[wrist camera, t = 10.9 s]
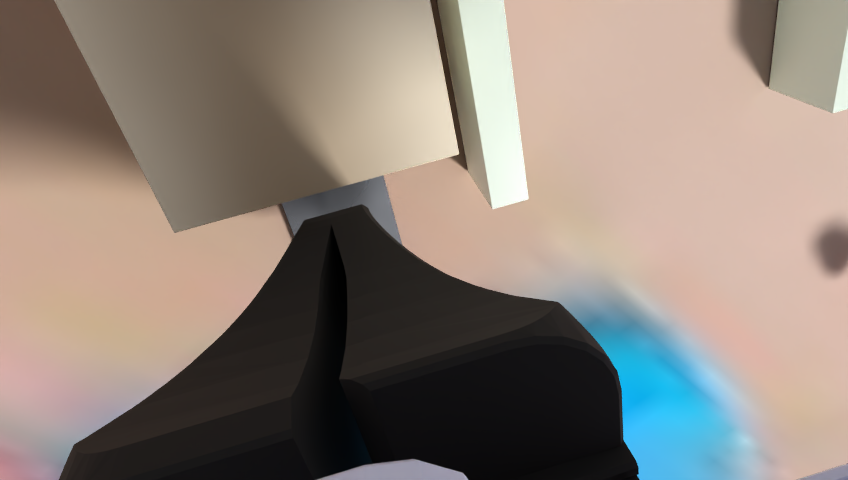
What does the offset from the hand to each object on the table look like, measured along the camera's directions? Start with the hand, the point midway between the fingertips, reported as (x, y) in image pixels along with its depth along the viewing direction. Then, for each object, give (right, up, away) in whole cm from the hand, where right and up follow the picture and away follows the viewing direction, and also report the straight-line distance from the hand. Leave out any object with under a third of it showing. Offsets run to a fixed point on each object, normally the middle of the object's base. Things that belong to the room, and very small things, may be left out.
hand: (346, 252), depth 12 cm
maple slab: (-1, +5, -1) cm, 5 cm away
